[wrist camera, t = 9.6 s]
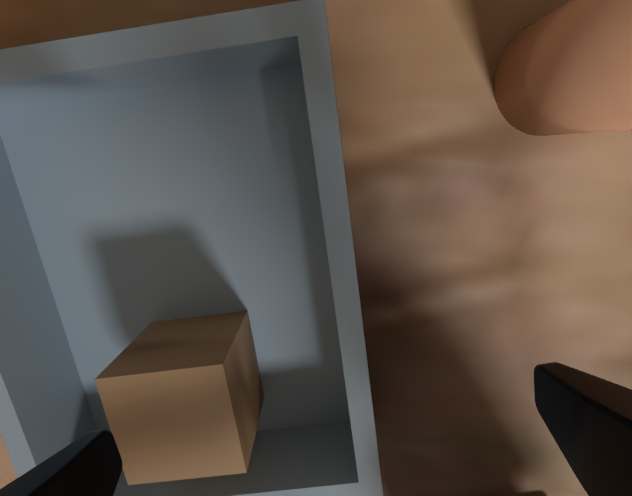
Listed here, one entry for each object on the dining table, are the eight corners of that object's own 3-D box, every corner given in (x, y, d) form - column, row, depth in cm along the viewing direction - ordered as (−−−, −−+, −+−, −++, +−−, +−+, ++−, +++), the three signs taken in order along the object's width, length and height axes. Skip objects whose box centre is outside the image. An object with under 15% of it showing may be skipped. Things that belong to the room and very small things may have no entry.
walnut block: (264, 396, 20) (246, 473, 16) (173, 406, 21) (128, 484, 16) (247, 310, 19) (222, 364, 14) (151, 322, 19) (94, 379, 15)
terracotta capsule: (603, 127, 18) (778, 112, 11) (495, 143, 18) (601, 137, 11) (608, 8, 17) (807, -91, 10) (492, 27, 17) (609, -58, 10)
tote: (369, 421, 22) (383, 498, 17) (100, 451, 23) (40, 533, 18) (322, 41, 17) (323, -4, 12) (-17, 94, 18) (-145, 72, 13)
